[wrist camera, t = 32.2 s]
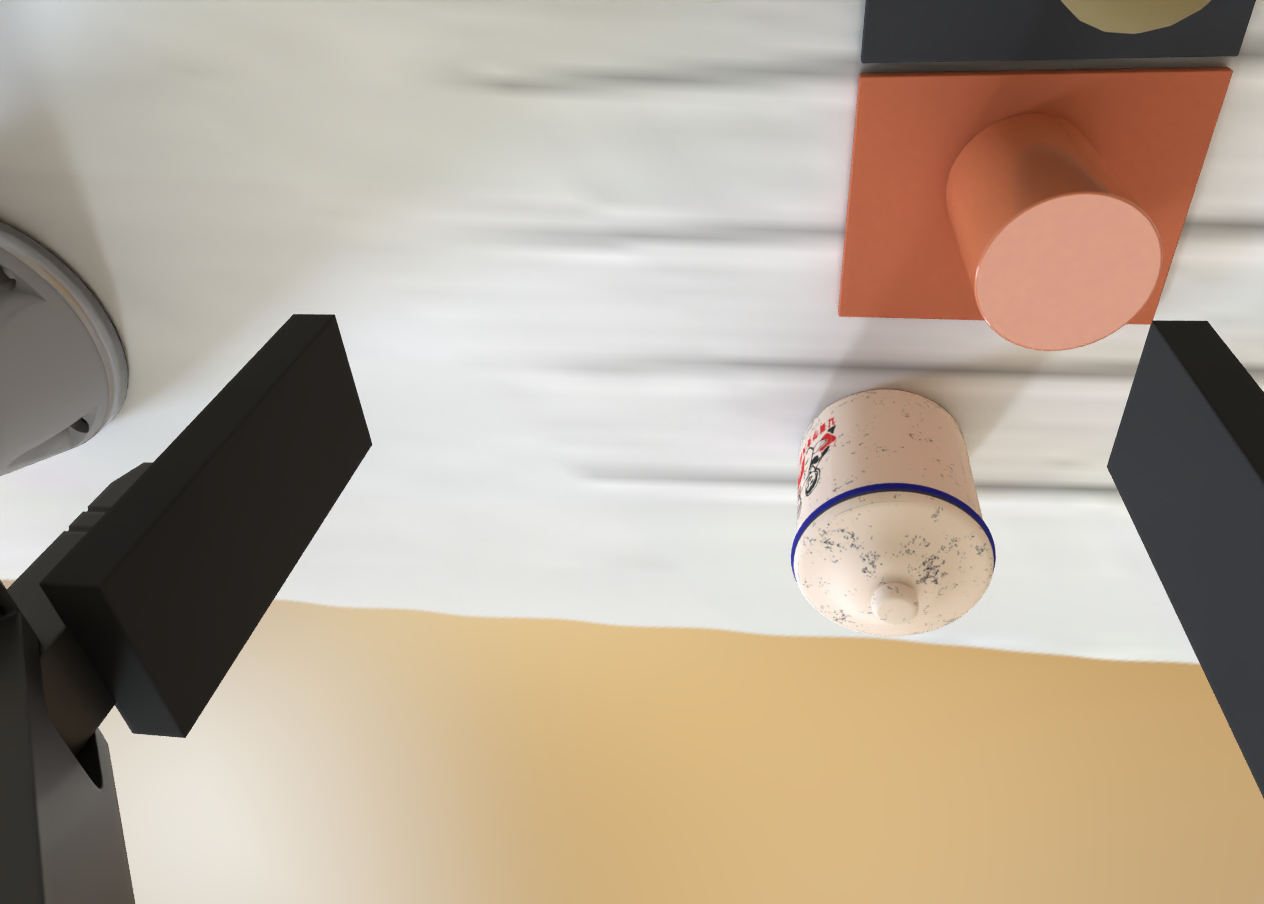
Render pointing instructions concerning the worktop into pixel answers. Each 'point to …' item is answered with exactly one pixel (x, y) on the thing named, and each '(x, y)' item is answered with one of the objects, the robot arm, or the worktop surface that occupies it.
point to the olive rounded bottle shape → (1132, 13)
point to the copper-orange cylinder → (1049, 234)
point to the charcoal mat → (1036, 32)
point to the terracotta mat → (959, 110)
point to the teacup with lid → (889, 516)
